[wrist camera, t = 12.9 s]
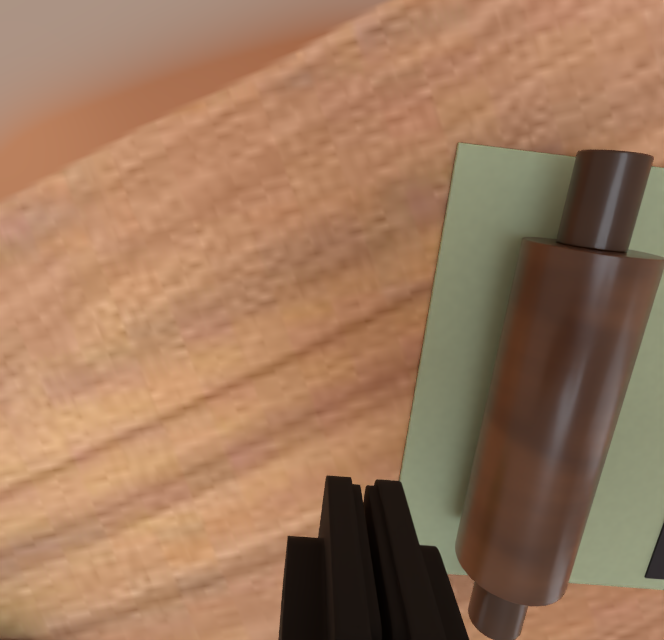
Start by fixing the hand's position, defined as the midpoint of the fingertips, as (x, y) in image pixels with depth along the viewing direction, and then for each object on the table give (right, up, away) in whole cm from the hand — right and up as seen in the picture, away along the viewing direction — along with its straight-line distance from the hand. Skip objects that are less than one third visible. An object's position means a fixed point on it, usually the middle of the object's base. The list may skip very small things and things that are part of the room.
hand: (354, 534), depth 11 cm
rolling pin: (+7, +2, +10) cm, 12 cm away
